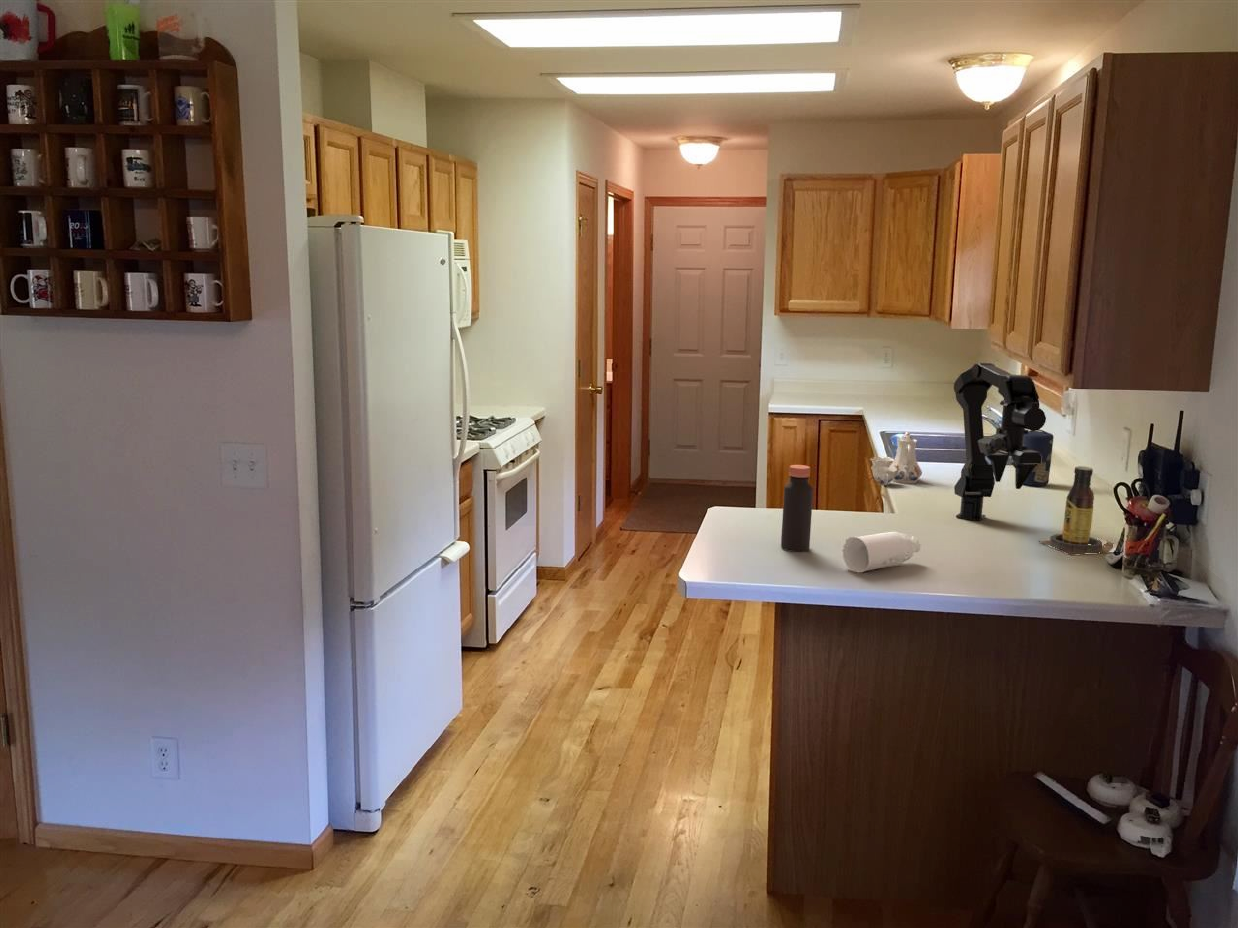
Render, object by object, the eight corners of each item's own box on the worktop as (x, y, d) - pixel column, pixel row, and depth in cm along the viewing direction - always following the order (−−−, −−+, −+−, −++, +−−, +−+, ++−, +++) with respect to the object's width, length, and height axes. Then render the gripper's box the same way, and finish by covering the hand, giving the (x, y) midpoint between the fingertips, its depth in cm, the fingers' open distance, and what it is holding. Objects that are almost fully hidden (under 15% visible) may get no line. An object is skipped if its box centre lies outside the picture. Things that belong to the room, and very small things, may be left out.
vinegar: (775, 545, 254) (780, 464, 250) (799, 543, 257) (804, 463, 253) (790, 552, 248) (795, 470, 244) (814, 550, 250) (820, 468, 247)
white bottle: (926, 566, 240) (929, 533, 238) (865, 576, 230) (868, 541, 229) (901, 558, 246) (904, 525, 245) (840, 567, 237) (843, 533, 235)
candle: (1021, 480, 344) (1027, 426, 340) (1051, 484, 338) (1057, 429, 335) (1013, 484, 336) (1018, 429, 333) (1044, 488, 331) (1050, 432, 327)
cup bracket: (1099, 539, 268) (1100, 532, 268) (1133, 552, 257) (1134, 544, 256) (1039, 542, 264) (1039, 534, 263) (1070, 555, 252) (1071, 547, 252)
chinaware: (865, 475, 354) (863, 426, 351) (916, 473, 351) (914, 424, 348) (873, 492, 326) (871, 440, 324) (928, 490, 324) (927, 437, 321)
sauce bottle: (1061, 541, 264) (1070, 464, 260) (1088, 544, 261) (1097, 466, 258) (1060, 547, 258) (1069, 468, 254) (1088, 550, 255) (1097, 470, 252)
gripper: (965, 420, 273) (960, 478, 276) (1005, 430, 255) (999, 493, 258) (1003, 419, 275) (998, 478, 278) (1046, 430, 257) (1040, 492, 260)
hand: (1007, 485), depth 268 cm, fingers open, 9 cm apart
